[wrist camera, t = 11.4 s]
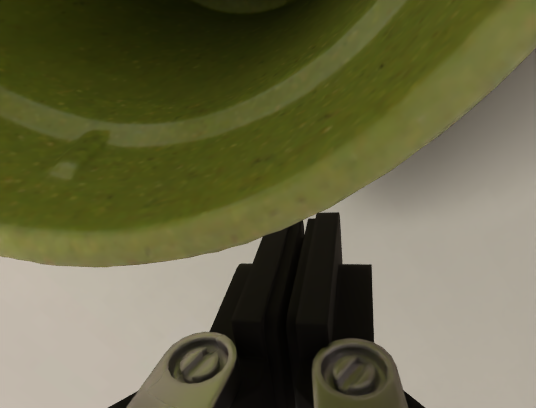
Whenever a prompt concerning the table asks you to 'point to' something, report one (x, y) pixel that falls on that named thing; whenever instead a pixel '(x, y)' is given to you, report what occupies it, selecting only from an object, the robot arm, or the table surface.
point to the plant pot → (223, 113)
